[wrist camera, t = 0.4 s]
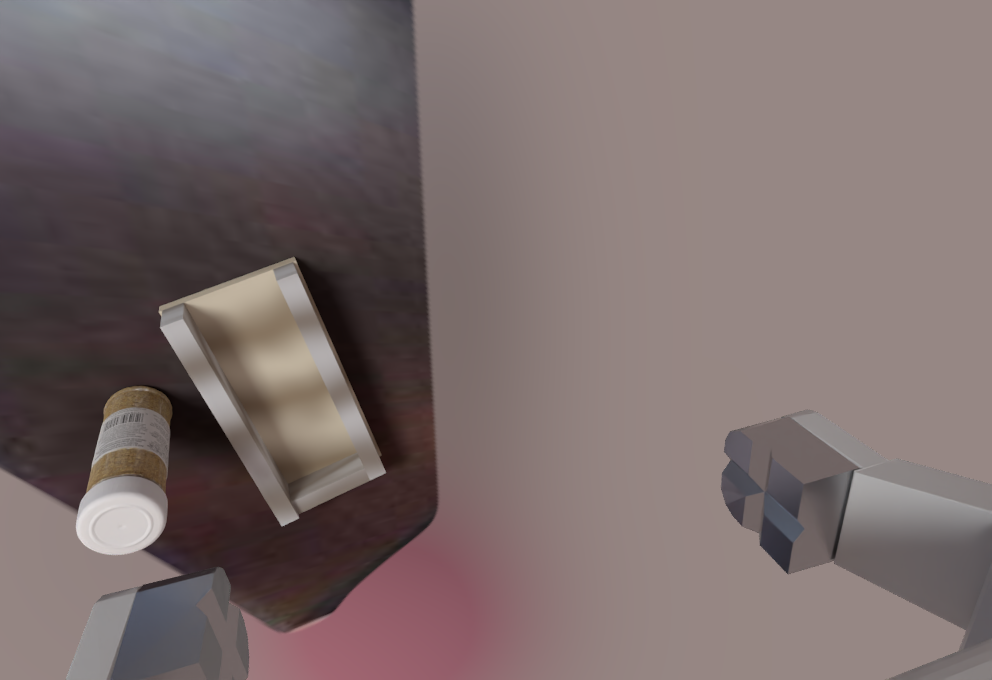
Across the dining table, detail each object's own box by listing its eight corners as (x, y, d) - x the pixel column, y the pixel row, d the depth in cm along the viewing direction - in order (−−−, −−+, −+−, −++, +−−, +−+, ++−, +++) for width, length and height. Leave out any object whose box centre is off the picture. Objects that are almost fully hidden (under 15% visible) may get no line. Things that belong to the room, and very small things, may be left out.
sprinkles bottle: (105, 436, 46) (76, 564, 35) (103, 383, 44) (71, 499, 33) (174, 433, 48) (166, 552, 37) (174, 382, 46) (166, 491, 35)
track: (159, 306, 44) (156, 328, 41) (294, 256, 46) (301, 274, 43) (274, 497, 54) (278, 527, 51) (379, 449, 57) (390, 474, 53)
